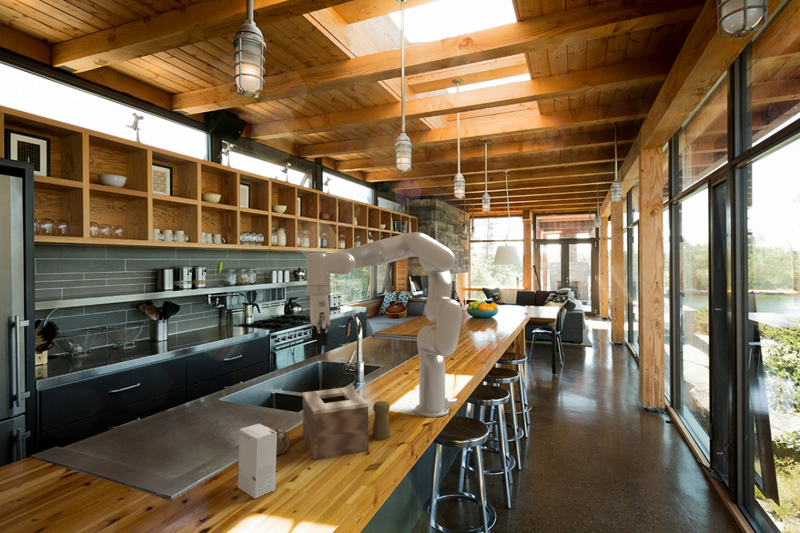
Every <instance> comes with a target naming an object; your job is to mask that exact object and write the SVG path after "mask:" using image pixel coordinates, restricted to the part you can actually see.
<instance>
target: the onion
mask: <svg viewBox="0 0 800 533" xmlns="http://www.w3.org/2000/svg"><path fill="white" fill-rule="evenodd" d="M272 430H273V431H275V432H277V446H276V456H279V455H282V454H284V453H285V452H287V450H288V449H289V447H290V445H291V438H290V435H289V434H288V432H286V431H285V430H283V428H281V427H279V428H278V427H277V426H276V427H274V429H272Z"/></svg>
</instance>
